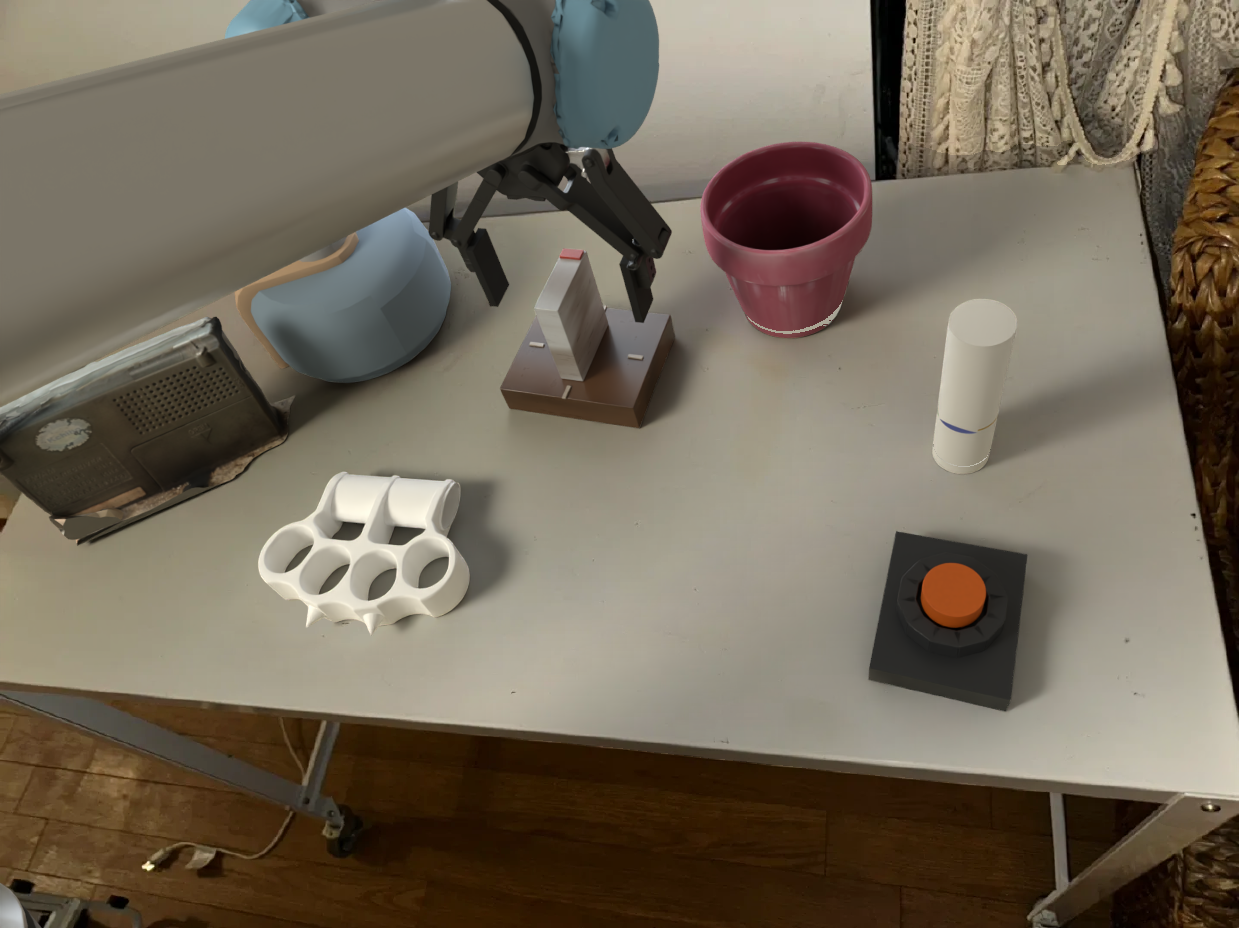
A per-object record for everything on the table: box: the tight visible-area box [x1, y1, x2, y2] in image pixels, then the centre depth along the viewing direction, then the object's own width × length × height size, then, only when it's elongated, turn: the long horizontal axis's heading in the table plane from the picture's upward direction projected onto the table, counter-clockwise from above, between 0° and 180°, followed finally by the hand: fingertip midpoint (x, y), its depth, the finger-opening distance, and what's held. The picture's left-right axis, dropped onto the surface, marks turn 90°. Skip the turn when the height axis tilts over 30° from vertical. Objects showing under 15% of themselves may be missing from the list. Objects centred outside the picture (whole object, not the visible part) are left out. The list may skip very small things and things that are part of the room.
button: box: [921, 563, 986, 628], centre depth 62 cm, size 4×4×2 cm
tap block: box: [499, 304, 676, 429], centre depth 84 cm, size 11×13×3 cm
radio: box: [0, 316, 296, 547], centre depth 83 cm, size 23×9×15 cm, turn 110°
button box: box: [867, 530, 1028, 713], centre depth 64 cm, size 11×9×4 cm
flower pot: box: [699, 141, 873, 339], centre depth 80 cm, size 14×14×13 cm
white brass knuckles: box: [257, 471, 471, 637], centre depth 77 cm, size 3×18×15 cm
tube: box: [931, 298, 1018, 475], centre depth 67 cm, size 4×4×15 cm
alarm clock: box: [233, 207, 452, 384], centre depth 91 cm, size 19×20×12 cm
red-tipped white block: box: [533, 247, 608, 381], centre depth 80 cm, size 7×2×9 cm, turn 161°
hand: (570, 303), depth 79 cm, fingers open, 13 cm apart
